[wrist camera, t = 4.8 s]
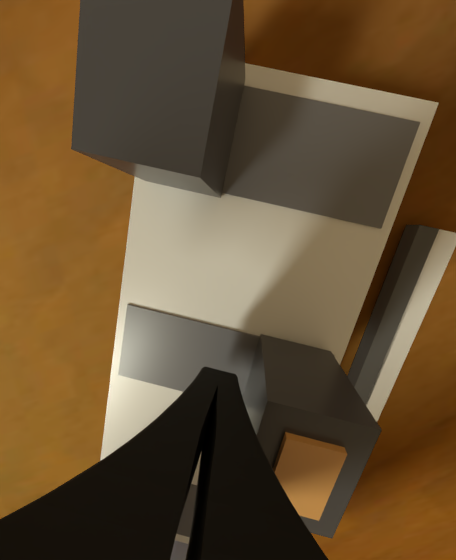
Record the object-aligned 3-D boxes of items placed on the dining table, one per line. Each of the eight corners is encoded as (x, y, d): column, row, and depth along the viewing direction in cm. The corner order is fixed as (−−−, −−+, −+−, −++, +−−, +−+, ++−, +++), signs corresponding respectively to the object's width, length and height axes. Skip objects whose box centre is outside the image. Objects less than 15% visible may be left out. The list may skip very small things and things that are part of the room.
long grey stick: (340, 474, 16) (346, 491, 15) (311, 467, 16) (315, 483, 15) (443, 233, 12) (460, 234, 11) (406, 224, 12) (419, 224, 11)
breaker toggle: (302, 427, 11) (334, 547, 7) (239, 411, 11) (233, 519, 7) (330, 351, 10) (386, 436, 6) (260, 333, 10) (267, 406, 6)
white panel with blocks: (261, 496, 17) (270, 709, 9) (124, 459, 17) (29, 636, 10) (382, 139, 11) (625, -19, 4) (179, 96, 12) (61, -122, 4)
